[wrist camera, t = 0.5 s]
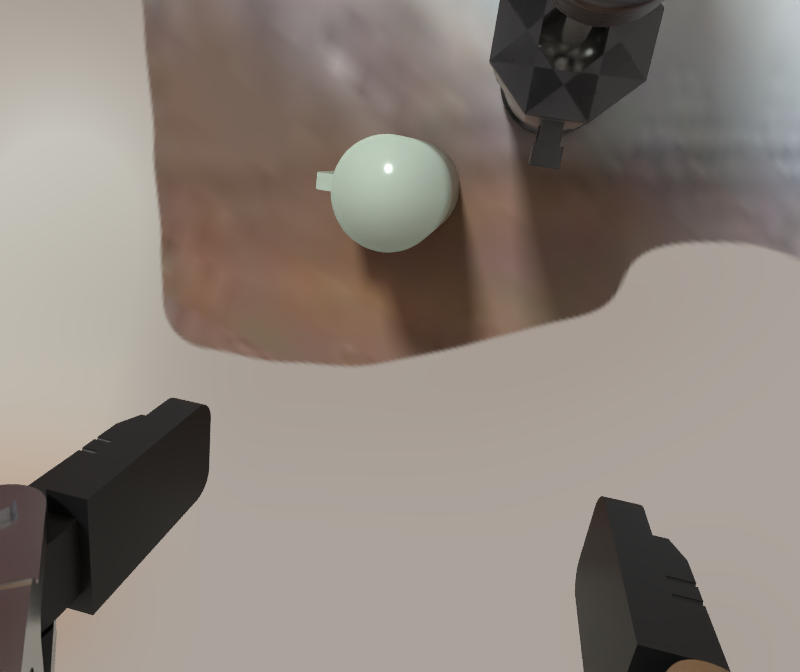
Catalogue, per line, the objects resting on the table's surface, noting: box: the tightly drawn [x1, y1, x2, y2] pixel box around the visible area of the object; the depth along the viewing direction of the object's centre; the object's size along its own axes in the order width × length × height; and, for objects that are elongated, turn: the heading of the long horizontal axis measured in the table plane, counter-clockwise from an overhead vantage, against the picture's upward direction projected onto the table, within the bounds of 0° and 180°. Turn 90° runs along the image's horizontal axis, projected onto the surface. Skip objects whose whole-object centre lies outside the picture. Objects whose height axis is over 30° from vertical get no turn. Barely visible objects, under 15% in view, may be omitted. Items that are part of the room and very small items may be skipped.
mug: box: [316, 134, 460, 253], centre depth 37 cm, size 6×8×9 cm
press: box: [490, 0, 664, 169], centre depth 31 cm, size 9×7×14 cm
